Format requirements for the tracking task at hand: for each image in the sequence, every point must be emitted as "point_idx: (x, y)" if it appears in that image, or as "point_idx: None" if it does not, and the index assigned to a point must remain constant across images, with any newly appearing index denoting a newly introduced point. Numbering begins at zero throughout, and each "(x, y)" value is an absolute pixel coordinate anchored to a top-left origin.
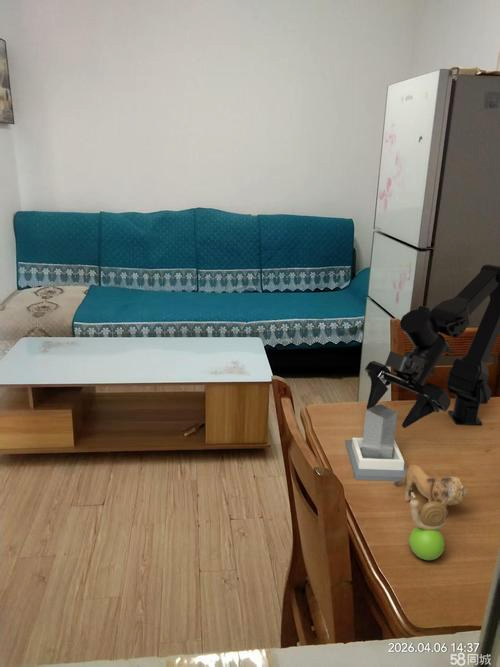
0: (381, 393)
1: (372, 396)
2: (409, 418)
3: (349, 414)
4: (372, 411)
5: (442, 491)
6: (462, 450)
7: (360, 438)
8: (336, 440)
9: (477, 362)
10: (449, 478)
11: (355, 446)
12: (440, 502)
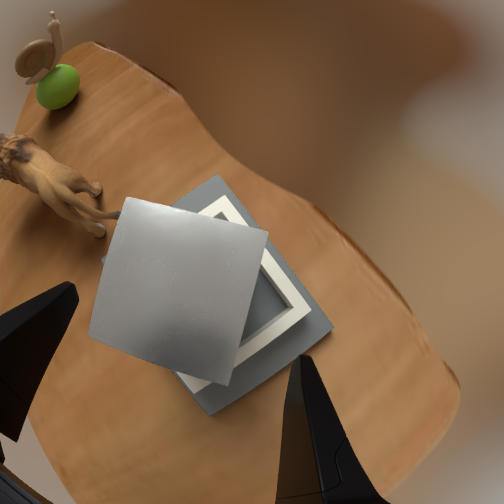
0: (284, 494)
1: (315, 422)
2: (29, 300)
3: (382, 456)
4: (217, 234)
5: (12, 133)
6: (86, 459)
7: (287, 323)
8: (357, 324)
9: None
10: None
11: (274, 261)
12: (18, 55)
